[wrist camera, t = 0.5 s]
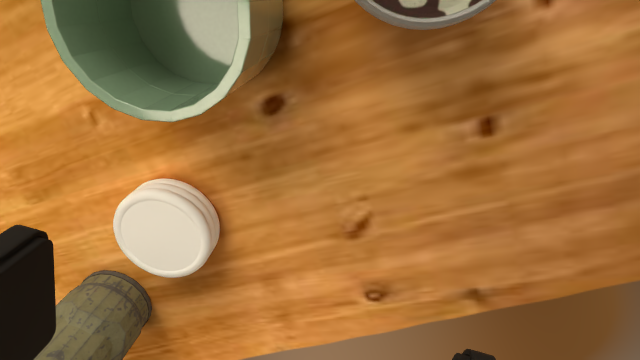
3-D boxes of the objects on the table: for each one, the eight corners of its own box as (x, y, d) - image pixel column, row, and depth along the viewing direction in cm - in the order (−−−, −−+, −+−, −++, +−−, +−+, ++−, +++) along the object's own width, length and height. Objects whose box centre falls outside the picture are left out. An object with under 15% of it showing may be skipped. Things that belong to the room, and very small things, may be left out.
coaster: (206, 273, 47) (193, 294, 44) (121, 237, 47) (102, 256, 43) (233, 201, 43) (222, 218, 40) (140, 160, 42) (121, 174, 39)
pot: (212, -129, 32) (146, -176, 23) (315, 33, 35) (293, 48, 26) (92, -16, 36) (-4, -17, 27) (195, 118, 40) (141, 156, 31)
